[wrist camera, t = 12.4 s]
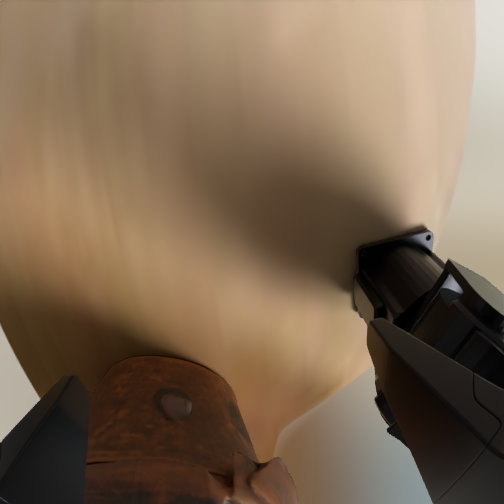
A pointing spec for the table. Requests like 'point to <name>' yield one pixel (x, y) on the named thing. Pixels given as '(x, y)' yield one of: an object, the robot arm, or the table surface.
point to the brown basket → (174, 440)
